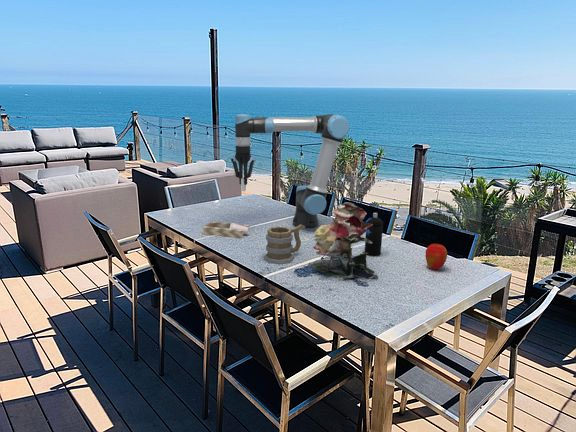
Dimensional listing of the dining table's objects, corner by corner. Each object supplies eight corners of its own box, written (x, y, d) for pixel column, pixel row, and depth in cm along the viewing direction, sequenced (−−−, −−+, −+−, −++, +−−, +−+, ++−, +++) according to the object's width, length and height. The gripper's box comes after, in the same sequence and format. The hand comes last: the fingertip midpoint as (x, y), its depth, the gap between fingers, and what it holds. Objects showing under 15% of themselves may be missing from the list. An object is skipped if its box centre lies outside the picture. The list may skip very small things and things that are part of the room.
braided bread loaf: (249, 231, 240) (249, 224, 239) (241, 238, 229) (241, 231, 228) (212, 228, 246) (212, 221, 245) (203, 234, 235) (202, 227, 234)
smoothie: (249, 237, 236) (224, 233, 239) (250, 225, 237) (226, 222, 239) (246, 236, 230) (220, 232, 232) (247, 224, 231) (222, 220, 233)
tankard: (272, 265, 193) (273, 233, 189) (261, 256, 204) (261, 225, 200) (311, 258, 202) (312, 227, 198) (298, 250, 213) (299, 220, 209)
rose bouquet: (352, 255, 208) (356, 193, 200) (384, 279, 181) (390, 208, 173) (302, 260, 200) (303, 196, 192) (328, 286, 173) (331, 213, 165)
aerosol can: (382, 251, 213) (385, 212, 207) (380, 257, 205) (383, 216, 200) (365, 249, 215) (368, 210, 210) (362, 255, 208) (365, 214, 203)
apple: (442, 274, 187) (445, 247, 184) (421, 269, 191) (424, 243, 188) (447, 267, 194) (450, 241, 191) (427, 263, 199) (429, 238, 196)
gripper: (228, 145, 221) (229, 191, 227) (252, 146, 217) (252, 193, 224) (233, 144, 228) (234, 188, 234) (257, 145, 224) (257, 190, 231)
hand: (243, 190), depth 229 cm, fingers closed
